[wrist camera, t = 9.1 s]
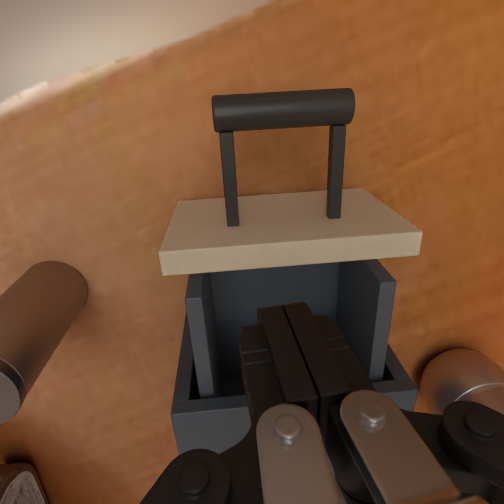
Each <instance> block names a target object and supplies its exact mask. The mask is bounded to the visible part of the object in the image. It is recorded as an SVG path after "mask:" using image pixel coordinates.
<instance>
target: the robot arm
mask: <svg viewBox="0 0 504 504" xmlns="http://www.w3.org/2000/svg"><path fill="white" fill-rule="evenodd" d="M257 322H258V325H251V326H245V327H243V329H242V332H241V335H240V338H239V346H240V357H241V368H242V377H243V383H244V388H245V394H246V399H247V405H248V410H249V416H250V421H251V427H250V429H249V431H248V433H247V434H246V436H245V437H244V438H243V439H242V440H241V441H240V442H239V443H237V444H236V445H234V446H233V447H231V448H229V449H227V450H225V451H224V452H222V453H220V454H217V453H216V452H214V451H211V450H208V449H192V450H189V451H186V452H184V453H182V454H180V455H179V456H177V457H176V458H175V459H174V460H173V461H172V462H171V463H170V464H169V465H168V466H167V467H166V469H165V470H164V472H163V473H162V474H161V476H160V477H159V478H158V480H157V481H156V482H155V484H154V485H153V486H152V488H151V489H150V490H149V492H148V493H147V494H146V496H145V497H144V498H143V500H142V501H141V503H140V504H504V414H502V413H500V412H498V411H495V410H493V409H491V408H489V407H487V406H485V405H482V404H480V403H476V402H472V401H455V402H452V403H450V404H449V405H448V406H446V408H445V409H444V412H443V415H437V414H428V413H420V412H412V411H407V410H404V409H401V408H399V407H398V406H397V405H396V403H395V402H393V401H392V400H391V399H390V398H388V397H387V396H385V395H383V394H381V393H379V392H377V391H376V390H375V388H374V386H373V385H372V383H371V381H370V380H369V378H368V376H367V375H366V373H365V371H364V370H363V368H362V366H361V364H360V363H359V361H358V359H357V358H356V356H355V354H354V353H353V351H352V349H350V346H349V344H348V342H347V341H346V339H344V336H343V334H342V332H341V331H340V329H339V327H338V325H337V324H336V323H335V322H333V321H332V320H331V319H329V318H328V317H327V316H325V315H318V316H313V315H312V313H311V311H310V309H309V307H308V305H307V303H306V302H305V301H300V302H293V303H286V304H281V305H273V306H266V307H259V308H257ZM328 458H329V459H330V461H331V464H332V467H333V470H334V479H333V475H332V472H331V468H330V465H329V461H328Z"/></svg>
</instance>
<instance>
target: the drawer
mask: <svg viewBox="0 0 504 504" xmlns="http://www.w3.org/2000/svg"><path fill="white" fill-rule="evenodd" d="M354 111H355V97H354V92H353V90H352V89H350V88H340V89H322V90H304V91H286V92H268V93H251V94H233V95H215V96H212V113H213V123H214V130H215V132H219V136H220V148H221V160H222V171H223V183H224V195H225V197H224V198H210V199H196V200H181V201H177V204H176V207H175V209H174V212H173V215H172V217H171V220H170V223H169V225H168V228H167V231H166V233H165V236H164V239H163V241H162V244H161V247H160V249H159V252H158V254H159V260H160V265H161V271H162V275H163V276H171V275H184V274H189V278H188V284H187V290H186V296H185V304H186V310H187V317H188V323H189V330H190V336H191V343H192V349H193V356H194V362H195V369H196V375H197V382H198V388H199V395H200V399H205V398H215V397H226V396H236V395H246V394H245V388H244V383H243V377H242V368H241V357H240V346H239V338H240V335H241V332H242V329H243V327H245V326H251V325H258V322H257V308H259V307H266V306H273V305H281V304H286V303H293V302H300V301H305V302H306V303H307V305H308V307H309V309H310V311H311V313H312V315H313V316H318V315H325V316H327V317H328V318H329V319H331V320H332V321H333V322H335V323H336V324H337V325H338V327H339V329H340V331H341V332H342V334H343V336H344V339H346V341H347V342H348V344H349V346H350V349H352V351H353V353H354V354H355V356H356V358H357V359H358V361H359V363H360V364H361V366H362V368H363V370H364V371H365V373H366V375H367V376H368V378H369V380H370V381H371V382H378V381H382V379H383V372H384V365H385V358H386V351H387V344H388V337H389V330H390V323H391V316H392V309H393V302H394V295H395V288H396V280H395V279H394V278H393V277H392V276H391V275H390V274H389V273H388V271H387V270H386V269H385V268H384V267H383V266H382V265H381V264H380V263H379V261H378V260H377V259H382V258H394V257H406V256H418V255H419V252H420V246H421V240H422V234H423V232H422V231H421V230H420V229H418V228H417V227H415V226H414V225H413V224H411V223H410V222H409V221H407V220H406V219H404V218H403V217H402V216H400V215H399V214H398V213H396V212H395V211H393V210H392V209H391V208H389V207H388V206H387V205H385V204H384V203H382V202H381V201H380V200H378V199H377V198H376V197H374V196H373V195H371V194H370V193H369V192H367V191H366V190H365V189H363V188H352V189H342V185H343V169H344V152H345V135H346V124H349V123H351V121H352V119H353V116H354ZM329 125H330V132H329V156H328V180H327V190H323V191H309V192H295V193H281V194H266V195H252V196H237V182H236V167H235V153H234V139H233V131H248V130H264V129H281V128H297V127H313V126H329Z"/></svg>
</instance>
